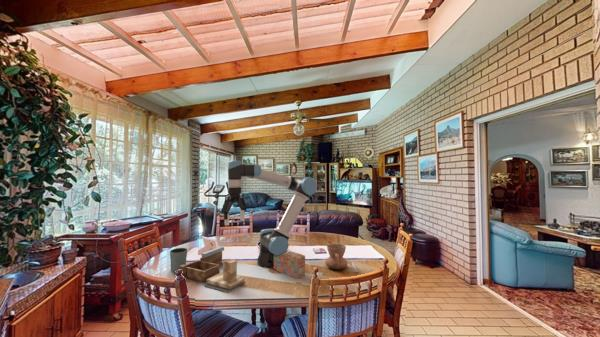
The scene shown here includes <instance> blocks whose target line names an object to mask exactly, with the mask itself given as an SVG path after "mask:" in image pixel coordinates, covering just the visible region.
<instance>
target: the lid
mask: <svg viewBox="0 0 600 337" xmlns="http://www.w3.org/2000/svg"><path fill="white" fill-rule="evenodd" d="M237 267H238V263H237V260H235V259H234V260H233V259H230V258H228V259H225V260H222V272H221V271H220V273H219V274H217V275H214V276H212V277H210V278H208V279H206V282H205V283H207V284H208V283H209V284H212V285H215V286H219V287H223V288H226V289H232V288H234V287H236V286H237V285H239V284H241V283H242V282H243V281H245V277H242V276H239V275H238V274H237V273H238V272H237V270H238V269H237ZM241 285H242V284H241Z"/></svg>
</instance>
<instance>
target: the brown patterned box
mask: <svg viewBox="0 0 600 337" xmlns="http://www.w3.org/2000/svg"><path fill="white" fill-rule="evenodd" d="M273 260H274V266H273V270H275V271H276V272H279V273H281V274H285V275H287V276H290V277H292V278H294V279H296V280H299V279H301V278H303V277H305V276H306V255H304V254H301V253H298V252H294V251H291V250H290V251H286V252H285V253H283V254H281V255H274V258H273Z"/></svg>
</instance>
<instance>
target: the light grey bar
mask: <svg viewBox="0 0 600 337" xmlns="http://www.w3.org/2000/svg"><path fill="white" fill-rule="evenodd" d="M223 251H225V246H222V245H221V246H219V247H216V248H212V249H210V250H207V251H205V252H201V258H202V257H203V258H205V257H208V256H211V255H213V254H216V253H219V252H223Z"/></svg>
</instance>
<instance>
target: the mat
mask: <svg viewBox="0 0 600 337" xmlns="http://www.w3.org/2000/svg"><path fill="white" fill-rule="evenodd" d="M244 283H246V281H245V280H244V281H243V282H242V283H241V284H239V285H237V286H236V287H234V288H232V289H226V288H223V287H219V286H215V285H212V284H209V283H208V282H207V283H206V284H204V287H205V288H208V289H213V290H215V291H219V292H223V293H227V294H229V293H230V292H232V291H233V290H235V289H237V288H238V287H239V286H241V285H243V284H244Z"/></svg>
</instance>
